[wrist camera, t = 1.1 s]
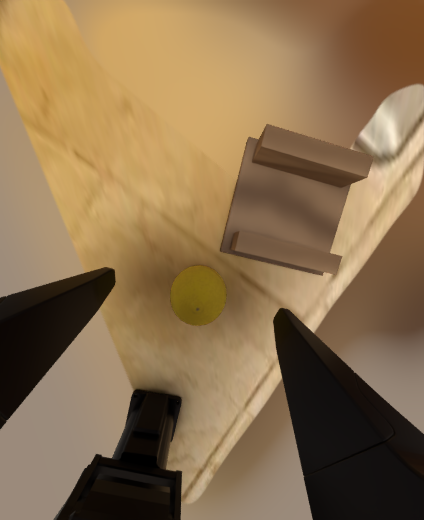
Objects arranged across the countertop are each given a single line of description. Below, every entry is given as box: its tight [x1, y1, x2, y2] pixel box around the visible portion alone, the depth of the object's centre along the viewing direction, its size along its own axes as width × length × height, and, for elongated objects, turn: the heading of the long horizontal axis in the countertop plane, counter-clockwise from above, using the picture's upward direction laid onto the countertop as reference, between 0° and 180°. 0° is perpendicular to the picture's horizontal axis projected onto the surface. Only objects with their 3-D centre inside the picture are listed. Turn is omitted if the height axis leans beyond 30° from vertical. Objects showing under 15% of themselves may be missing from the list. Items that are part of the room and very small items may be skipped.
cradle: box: [220, 124, 374, 276], centre depth 18 cm, size 13×13×4 cm
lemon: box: [170, 265, 227, 326], centre depth 16 cm, size 6×6×8 cm
